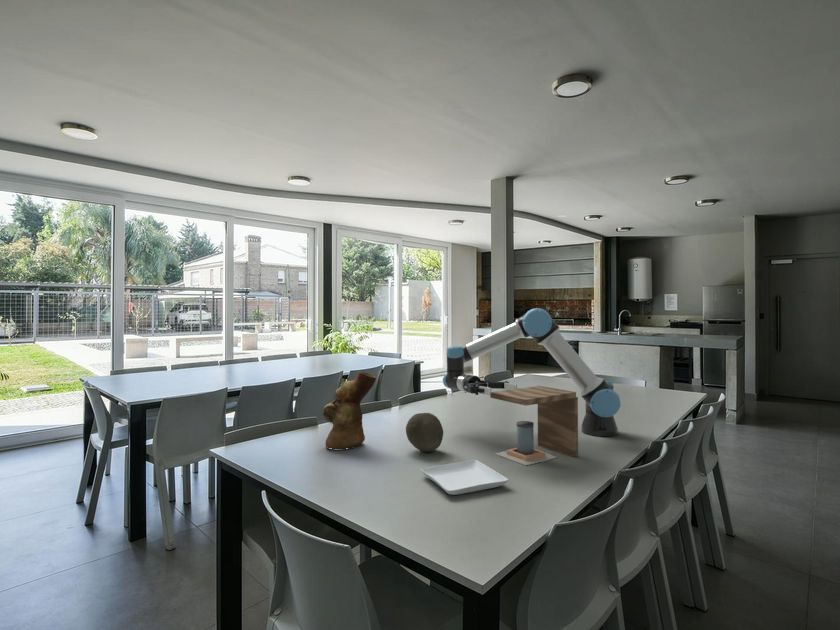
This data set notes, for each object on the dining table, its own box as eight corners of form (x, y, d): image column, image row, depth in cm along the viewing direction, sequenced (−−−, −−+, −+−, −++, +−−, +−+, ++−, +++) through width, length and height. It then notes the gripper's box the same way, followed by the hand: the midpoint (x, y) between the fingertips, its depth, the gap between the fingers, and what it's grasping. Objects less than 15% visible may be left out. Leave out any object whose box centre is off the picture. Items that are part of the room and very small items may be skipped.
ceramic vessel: (324, 440, 198) (324, 369, 198) (376, 438, 200) (376, 368, 200) (321, 451, 182) (320, 374, 182) (377, 449, 185) (376, 373, 185)
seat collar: (525, 447, 186) (525, 442, 186) (557, 457, 173) (557, 452, 173) (495, 454, 177) (495, 449, 177) (526, 466, 164) (526, 460, 164)
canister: (525, 451, 179) (525, 420, 179) (537, 455, 174) (537, 423, 174) (513, 454, 176) (513, 422, 176) (525, 458, 171) (525, 425, 170)
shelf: (541, 444, 189) (540, 385, 189) (578, 456, 174) (577, 391, 174) (490, 456, 175) (490, 392, 175) (526, 470, 160) (525, 399, 159)
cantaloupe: (435, 445, 190) (435, 408, 190) (448, 455, 177) (448, 415, 177) (402, 448, 186) (401, 410, 186) (412, 459, 172) (412, 418, 172)
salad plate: (448, 501, 135) (448, 489, 135) (419, 477, 154) (419, 467, 154) (510, 490, 143) (510, 478, 143) (475, 468, 162) (475, 458, 162)
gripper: (491, 389, 208) (526, 395, 191) (446, 395, 195) (479, 403, 177) (491, 372, 208) (526, 377, 191) (445, 377, 195) (479, 383, 177)
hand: (503, 389), depth 184 cm, fingers open, 13 cm apart
